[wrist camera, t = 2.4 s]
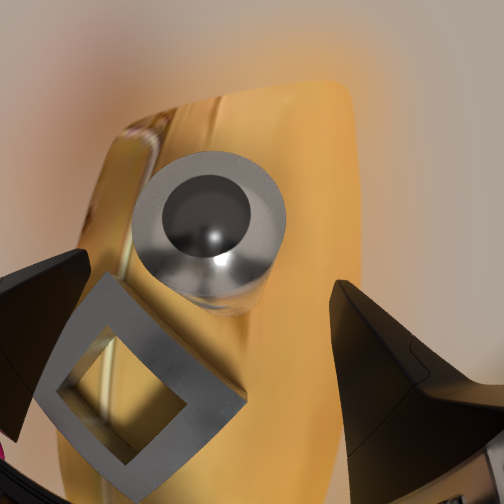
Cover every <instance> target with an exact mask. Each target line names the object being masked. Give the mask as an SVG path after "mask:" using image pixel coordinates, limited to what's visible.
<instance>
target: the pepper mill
mask: <svg viewBox="0 0 504 504" xmlns="http://www.w3.org/2000/svg"><path fill="white" fill-rule="evenodd" d="M0 457H1V458H2V459H3V460H5V457H4V451H3V448H2V446H1V443H0Z"/></svg>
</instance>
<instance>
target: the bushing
mask: <svg viewBox="0 0 504 504" xmlns="http://www.w3.org/2000/svg"><path fill="white" fill-rule="evenodd" d="M285 228H286V210H285V205H284V201H283V198H282V195H281V192H280V190H279V189H278V187H277V185H276V183H275V182H274V181H273V179H272V178H271V177H270V175H269V174H268V173H267V172H266V171H265V170H264V169H262V168H261V167H260V166H258V165H257V164H256V163H254V162H252V161H251V160H249V159H247V158H244V157H242V156H239V155H236V154H233V153H227V152H220V151H206V152H199V153H194V154H190V155H187V156H184V157H181V158H179V159H177V160H175V161H173V162H171V163H169V164H168V165H166V166H165V167H163V168H162V169H161V170H160V171H158V172H157V173H156V174H155V175H154V176H153V177H152V178H151V179H150V180H149V182H148V183H147V184H146V186H145V187H144V188H143V190H142V192H141V194H140V195H139V197H138V200H137V202H136V205H135V208H134V212H133V218H132V237H133V242H134V246H135V249H136V252H137V254H138V256H139V259H140V260H141V262H142V263H143V265H144V266H145V268H146V269H147V270H148V271H149V272H150V273H151V274H152V275H153V276H154V277H155V278H156V279H157V280H159V281H160V282H162V283H163V284H165V285H166V286H167V287H169V288H171V289H172V290H174V291H175V292H177V293H178V294H180V295H181V296H183V297H184V298H186V299H187V300H189V301H190V302H192V303H194V304H195V305H197V306H198V307H200V308H201V309H203V310H205V311H206V312H208V313H210V314H212V315H214V316H217V317H221V318H233V317H237V316H240V315H243V314H245V313H246V312H248V311H249V310H251V309H252V308H253V307H254V306H255V305H256V303H257V302H258V301H259V299H260V297H261V294H262V292H263V289H264V287H265V284H266V282H267V279H268V277H269V274H270V272H271V269H272V266H273V264H274V261H275V259H276V256H277V254H278V251H279V248H280V246H281V243H282V240H283V237H284V233H285Z"/></svg>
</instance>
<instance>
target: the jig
mask: <svg viewBox="0 0 504 504" xmlns="http://www.w3.org/2000/svg"><path fill="white" fill-rule="evenodd" d="M115 335H117V336H118V338H119V339H120V340H121V341H122V342H123V343H124V344H125V345H126V346H127V347H128V348H129V349H130V350H131V351H132V353H133V354H134V355H135V356H136V357H137V358H138V359H139V360H140V361H141V362H142V363H143V364H144V365H145V366H146V367H147V368H148V369H149V370H150V371H151V372H152V373H153V374H155V375H156V376H157V377H158V378H159V379H160V380H161V381H162V382H163V383H164V384H165V385H166V386H167V387H168V388H170V389H171V390H172V391H173V392H174V393H175V394H176V395H177V396H179V397H180V398H181V399H182V400H183V401H184V402H186V403H187V405H186V406H185V407H184V408H183V409H182V410H181V411H180V412H179V413H178V414H177V415H176V416H175V417H174V418H173V419H172V420H171V421H170V423H169V424H168V425H167V426H166V427H165V428H164V429H163V430H162V431H161V432H160V433H159V434H158V435H157V436H156V437H155V438H154V439H153V440H152V441H151V442H150V443H149V444H148V445H147V446H146V447H145V448H144V449H143V450H142V451H140V452H139V453H136V452H135V451H134V450H133V449H132V448H131V447H130V446H129V445H127V444H126V443H125V442H124V441H123V440H122V439H121V438H120V437H119V436H118V435H117V434H116V433H115V432H114V431H113V430H112V429H111V428H110V427H109V426H108V425H107V424H106V423H105V422H104V421H103V420H102V419H101V418H100V417H99V416H98V415H97V414H96V413H95V412H94V410H93V409H92V408H91V407H90V406H89V405H88V404H87V403H86V402H85V400H84V399H83V398H82V397H81V396H80V395H79V393H78V392H77V391H76V390H75V388H74V387H75V385H76V384H77V383H78V381H79V380H80V379H81V378H82V376H83V375H84V374H85V372H86V371H87V370H88V369H89V367H90V366H91V365H92V364H93V362H94V361H95V360H96V359H97V357H98V356H99V355H100V354H101V352H102V351H103V350H104V349H105V347H106V346H107V345H108V344H109V343H110V341H111V340H112V339H113V338H114V336H115ZM33 397H34V399H35V400H36V402H37V403H38V404H39V406H40V407H41V409H42V410H43V411H44V413H45V414H46V415H47V416H48V418H49V419H50V420H51V421H52V423H53V424H54V425H55V426H56V428H57V429H58V430H59V431H60V432H61V434H62V435H63V436H64V437H65V438H66V439H67V440H68V442H69V443H70V444H71V445H72V446H73V447H74V448H75V449H76V450H77V451H78V452H79V454H80V455H81V456H82V457H83V458H84V459H85V460H86V461H87V462H88V463H89V464H90V465H91V466H92V467H93V468H94V469H95V470H97V471H98V472H99V473H100V474H101V475H102V476H103V477H104V478H105V479H106V480H107V481H109V482H110V483H111V484H112V485H113V486H114V487H116V488H117V489H118V490H119V491H120V492H122V493H123V494H124V495H125V496H126V497H128V498H129V499H130V500H132V501H133V502H134V503H135V504H137V503H139V502H140V501H141V500H143V499H144V498H145V497H146V496H148V495H149V494H150V493H151V492H153V491H154V490H155V489H156V488H158V487H159V486H160V485H161V484H162V483H164V482H165V481H166V480H167V479H168V478H169V477H171V476H172V475H173V474H174V473H175V472H176V471H177V470H179V469H180V468H181V467H182V466H183V465H184V464H185V463H186V462H188V461H189V460H190V459H191V458H192V457H193V456H194V455H195V454H196V453H197V452H198V451H199V450H200V449H202V448H203V447H204V446H205V445H206V444H207V443H208V442H209V441H210V440H211V439H212V438H213V437H214V436H215V435H216V434H217V433H218V432H219V431H220V430H221V429H222V428H223V427H224V426H225V425H226V424H227V423H228V422H229V421H230V420H231V419H232V418H233V417H234V416H235V415H236V414H237V413H238V411H239V410H240V409H241V408H242V407H243V406H244V405H245V404H246V403H247V402H248V401H247V393H246V392H245V391H243V390H242V389H241V388H240V387H238V386H237V385H236V384H234V383H233V382H232V381H231V380H230V379H228V378H227V377H226V376H225V375H223V374H222V373H221V372H220V371H219V370H217V369H216V368H215V367H214V366H213V365H211V364H210V363H209V362H208V361H207V360H206V359H204V358H203V357H202V356H201V355H200V354H199V353H198V352H196V351H195V350H194V349H193V348H192V347H191V346H190V345H189V344H188V343H186V342H185V341H184V340H183V339H182V338H181V337H180V336H179V335H178V334H177V333H176V332H175V331H173V330H172V329H171V328H170V327H169V326H168V325H167V324H166V323H165V322H164V321H163V320H162V319H161V318H160V317H159V316H158V315H157V314H156V313H155V312H154V311H153V310H152V309H151V308H150V307H149V306H148V305H147V304H146V303H145V302H144V301H143V300H142V299H141V298H140V297H139V296H138V295H137V294H136V293H135V292H134V291H133V290H132V289H131V287H130V286H129V285H128V284H127V283H126V282H125V281H124V280H123V279H122V278H120V277H118V276H117V275H115V274H113V273H111V272H109V271H106V273H105V274H104V275H103V276H102V277H101V279H100V280H99V281H98V282H97V283H96V285H95V286H94V287H93V288H92V290H91V291H90V292H89V293H88V295H87V296H86V297H85V298H84V300H83V301H82V302H81V303H80V305H79V306H78V307H77V309H76V310H75V311H74V313H73V314H72V315H71V317H70V318H69V320H68V322H67V324H66V325H65V327H64V329H63V331H62V333H61V335H60V337H59V339H58V341H57V343H56V345H55V347H54V349H53V351H52V353H51V356H50V358H49V360H48V362H47V364H46V366H45V369H44V371H43V373H42V376H41V378H40V380H39V383H38V385H37V387H36V390H35V392H34V395H33Z"/></svg>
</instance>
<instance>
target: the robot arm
mask: <svg viewBox="0 0 504 504" xmlns="http://www.w3.org/2000/svg"><path fill="white" fill-rule="evenodd" d="M90 274H91V266H90V261H89V256H88V252H87V251H86V250H85V249H79V248H77V249H74V250H71V251H68V252H65V253H63V254H60V255H57V256H55V257H52V258H49V259H47V260H44V261H41V262H39V263H36V264H33V265H31V266H28V267H26V268H23V269H21V270H18V271H16V272H14V273H11V274H8V275H6V276H5V277H1V278H0V432H1V433H3V434H4V435H5V436H6V437H8V438H9V439H11V440H12V441H13V442H15V443H16V442H17V441H18V438H19V434H20V431H21V429H22V425H23V423H24V420H25V417H26V414H27V411H28V408H29V406H30V403H31V400H32V398H33V395H34V392H35V390H36V387H37V385H38V383H39V380H40V378H41V376H42V373H43V371H44V369H45V366H46V364H47V362H48V360H49V358H50V356H51V353H52V351H53V349H54V347H55V345H56V343H57V341H58V339H59V337H60V335H61V333H62V331H63V329H64V327H65V325H66V324H67V322H68V320H69V318H70V316H71V314H72V312H73V311H74V309H75V307H76V305H77V303H78V301H79V298H80V296H81V294H82V292H83V289H84V287H85V285H86V283H87V281H88V279H89V277H90ZM329 312H330V328H331V344H332V350H333V356H334V362H335V368H336V374H337V381H338V388H339V394H340V401H341V409H342V416H343V424H344V433H345V441H346V450H347V457H348V458H347V461H348V473H349V486H350V500H351V504H504V385H485V384H480V383H477V382H474V381H472V380H470V379H469V378H467V377H466V376H465V375H464V374H462V373H461V372H460V371H458V370H457V369H456V368H454V367H453V366H452V365H450V364H449V363H448V362H446V361H445V360H444V359H442V358H441V357H440V356H439V355H437V354H436V353H435V352H433V351H432V350H431V349H430V348H428V347H427V346H426V345H425V344H424V343H422V342H421V341H420V340H419V339H418V338H416V337H415V336H414V335H412V333H410V331H408V330H407V329H406V328H405V327H404V326H403V325H401V324H400V323H399V322H398V321H397V320H395V319H394V318H393V317H392V316H390V315H389V314H388V313H387V312H386V311H385V310H383V309H382V308H381V307H380V306H379V305H377V304H376V303H375V302H374V301H373V300H371V299H370V298H369V297H368V296H367V295H365V294H364V293H363V292H362V291H360V290H359V289H358V288H357V287H355V286H354V285H353V284H352V283H350V282H349V281H348V280H336V281H335V284H334V287H333V290H332V294H331V297H330V301H329ZM0 504H73V503H71V502H69V501H67V500H65V499H64V498H61V497H60V496H58V495H56V494H54V493H53V492H51V491H49V490H48V489H46V488H44V487H43V486H41V485H39V484H38V483H36V482H35V481H33V480H31V479H30V478H28V477H27V476H25V475H24V474H22V473H21V472H20V471H18V470H17V469H15V468H14V467H13V466H11V465H10V464H8V463H7V462H6V461H5V460H3V459H2V458H1V457H0Z"/></svg>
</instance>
